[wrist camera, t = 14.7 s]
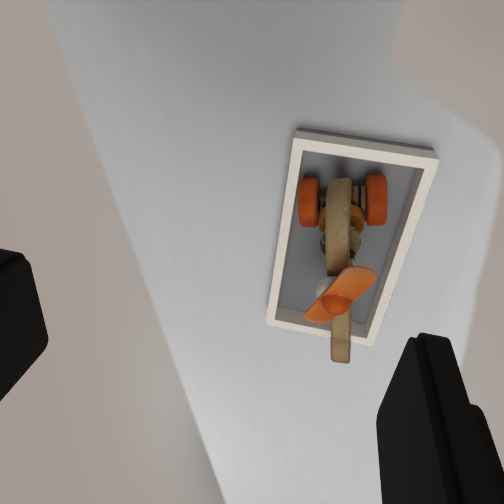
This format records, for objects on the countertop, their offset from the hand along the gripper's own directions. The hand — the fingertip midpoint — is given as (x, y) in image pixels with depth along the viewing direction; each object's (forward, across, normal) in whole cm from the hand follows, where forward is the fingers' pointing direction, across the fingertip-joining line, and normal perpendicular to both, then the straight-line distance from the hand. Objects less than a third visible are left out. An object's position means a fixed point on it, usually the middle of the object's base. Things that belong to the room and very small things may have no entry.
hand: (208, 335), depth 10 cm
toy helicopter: (+32, -6, +15) cm, 36 cm away
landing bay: (+33, -6, +15) cm, 37 cm away
